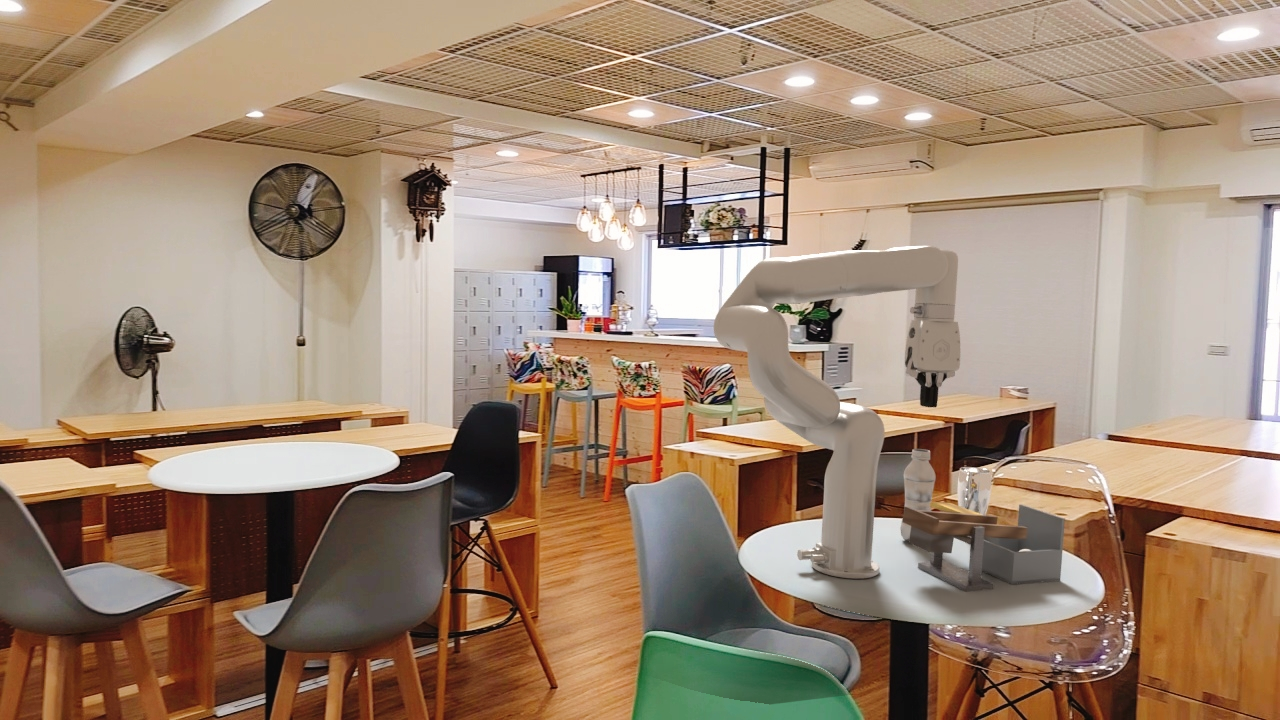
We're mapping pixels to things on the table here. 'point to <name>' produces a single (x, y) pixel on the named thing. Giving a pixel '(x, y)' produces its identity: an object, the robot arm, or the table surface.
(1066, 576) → the table surface
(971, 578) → the pivot stand
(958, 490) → the beer glass
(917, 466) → the plastic bottle
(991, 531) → the lever chute
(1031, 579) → the cup
